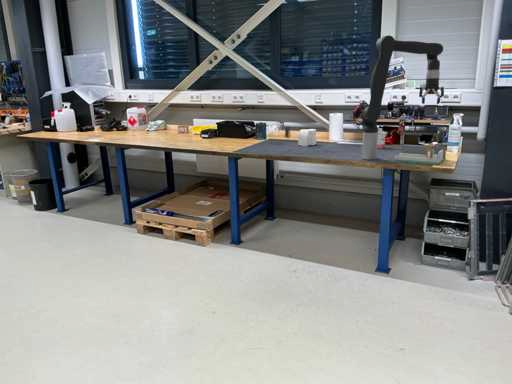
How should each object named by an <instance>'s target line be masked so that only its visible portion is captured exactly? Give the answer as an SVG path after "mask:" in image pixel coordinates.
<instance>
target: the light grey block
mask: <svg viewBox="0 0 512 384" xmlns="http://www.w3.org/2000/svg"><path fill="white" fill-rule="evenodd" d="M315 144H316V145H317V129H316V128H308V129H300V130H299V133H298V136H297V145H301V146H300V147H309V146H308V145H314V146H315Z"/></svg>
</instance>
